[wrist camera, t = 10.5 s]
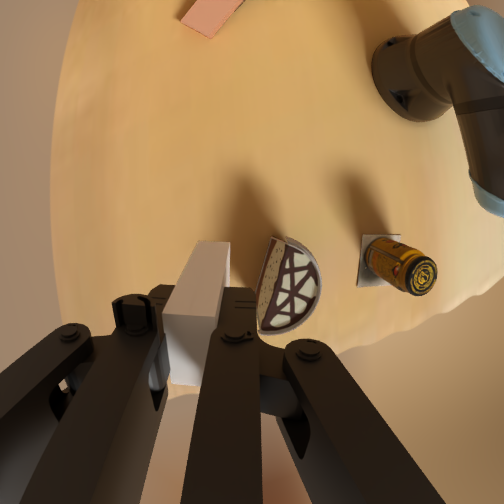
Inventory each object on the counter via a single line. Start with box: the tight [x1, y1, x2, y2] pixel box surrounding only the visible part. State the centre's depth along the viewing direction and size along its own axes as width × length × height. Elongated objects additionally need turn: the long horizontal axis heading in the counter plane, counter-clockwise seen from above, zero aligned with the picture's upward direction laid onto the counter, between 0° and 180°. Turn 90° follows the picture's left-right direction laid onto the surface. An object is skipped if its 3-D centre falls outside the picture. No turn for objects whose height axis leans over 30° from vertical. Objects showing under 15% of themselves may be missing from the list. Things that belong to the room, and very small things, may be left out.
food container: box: [255, 236, 322, 336], centre depth 40 cm, size 12×6×10 cm, turn 165°
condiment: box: [357, 234, 437, 296], centre depth 41 cm, size 7×8×12 cm
